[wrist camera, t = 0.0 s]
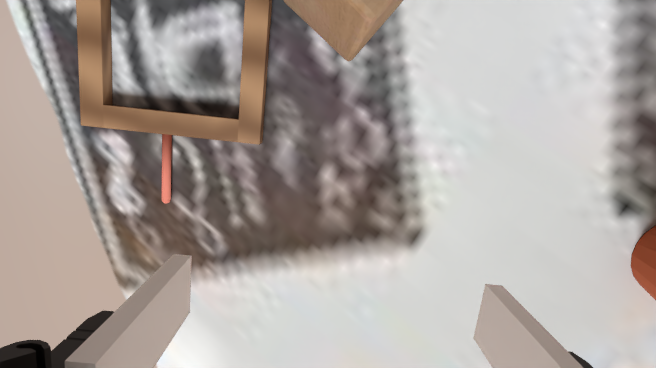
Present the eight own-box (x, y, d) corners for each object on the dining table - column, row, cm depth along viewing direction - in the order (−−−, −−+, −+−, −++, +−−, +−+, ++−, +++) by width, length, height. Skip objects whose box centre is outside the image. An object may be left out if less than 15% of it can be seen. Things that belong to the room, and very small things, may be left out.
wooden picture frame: (85, -68, 37) (73, -76, 35) (275, -44, 38) (272, -51, 36) (91, 124, 41) (81, 125, 40) (262, 142, 42) (259, 144, 40)
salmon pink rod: (164, 128, 42) (160, 128, 41) (173, 128, 42) (169, 129, 41) (163, 201, 43) (160, 203, 43) (172, 202, 44) (168, 204, 43)
